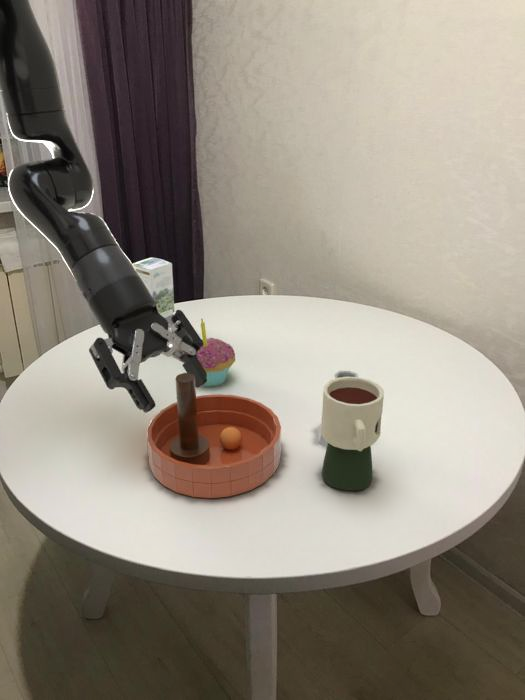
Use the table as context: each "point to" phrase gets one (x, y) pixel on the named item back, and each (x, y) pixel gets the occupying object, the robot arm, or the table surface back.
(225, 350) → the cupcake
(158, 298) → the syrup box
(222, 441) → the ball
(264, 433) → the bowl
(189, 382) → the brown peg stand
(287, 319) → the table surface
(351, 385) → the character mug
